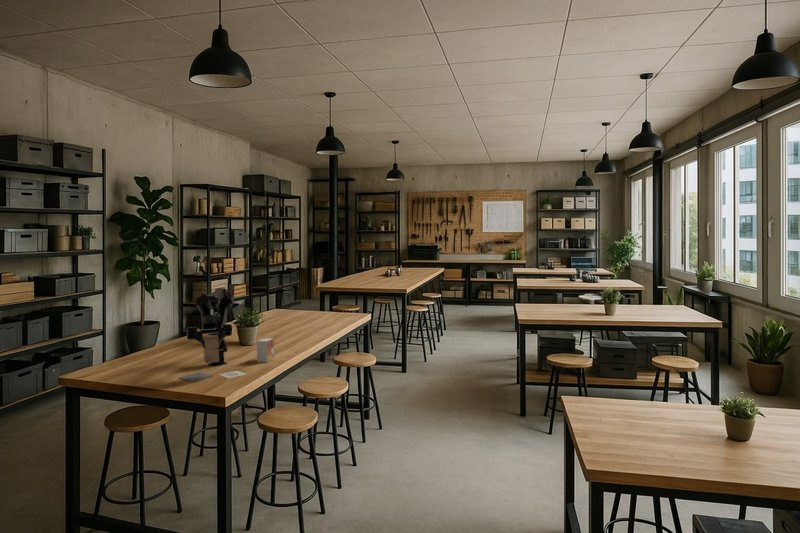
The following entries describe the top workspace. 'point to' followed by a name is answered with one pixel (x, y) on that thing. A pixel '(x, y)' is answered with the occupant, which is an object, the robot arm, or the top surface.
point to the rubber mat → (195, 377)
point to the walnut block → (211, 349)
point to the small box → (265, 350)
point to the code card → (232, 374)
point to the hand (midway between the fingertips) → (211, 347)
